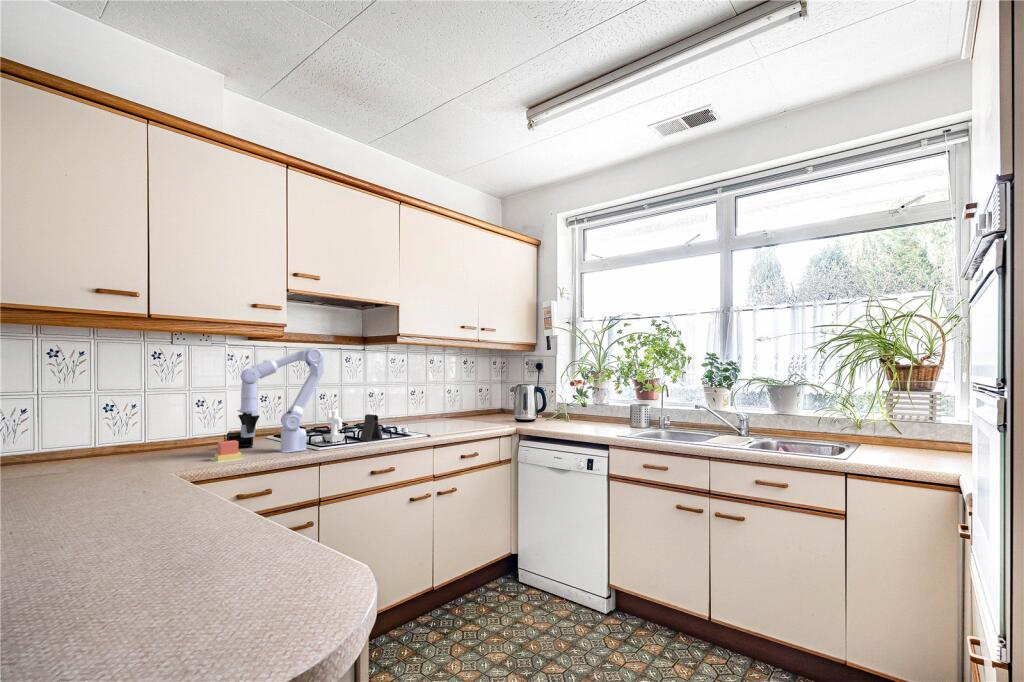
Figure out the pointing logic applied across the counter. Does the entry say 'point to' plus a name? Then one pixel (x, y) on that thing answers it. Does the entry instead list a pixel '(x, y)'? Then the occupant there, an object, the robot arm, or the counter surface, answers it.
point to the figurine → (334, 426)
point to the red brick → (228, 447)
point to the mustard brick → (227, 457)
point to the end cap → (240, 440)
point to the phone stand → (371, 429)
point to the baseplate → (226, 460)
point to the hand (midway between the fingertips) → (248, 432)
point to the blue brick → (244, 432)
